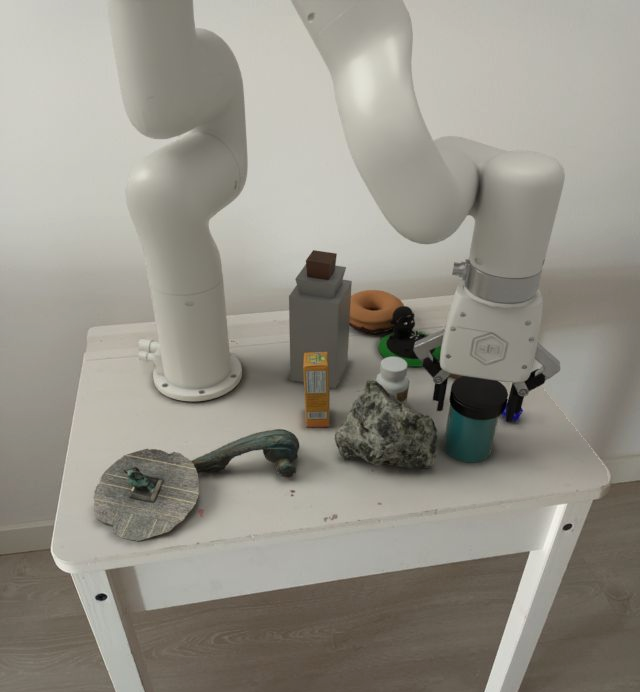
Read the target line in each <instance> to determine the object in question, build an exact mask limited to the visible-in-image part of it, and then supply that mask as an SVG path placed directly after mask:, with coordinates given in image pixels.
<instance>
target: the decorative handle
mask: <svg viewBox="0 0 640 692" xmlns="http://www.w3.org/2000/svg"><path fill="white" fill-rule="evenodd" d="M299 450H300V442H299V439H298V437H297V436H296V434H294V433H293V432H292V431H289V430H286V429H283V428H276V429H271V430H269V429H268V430H265V431H259V432H255V433H252V434H249V435H247V436H243V437H240V438H237V439H236V440H234V441H231V442H228V443H226V444H225V445H222V446H221V447H218V448H216V449H214V450H211V451H210V452H207V453H205V454H203V455H201V456H199V457H196V458H194V459H192V460H190V461H191V462H192V463H193V464H194V467H195V468H196V471H197V474H201V473H203V474H219V473H221V472H222V471H225V469H226V467H227V466H228V465H229V464H230V462H231V461H232V460H233V459H235V457H239V456H240V457H241V456H242V455H244V454H247V453H251V452H253V451H262V453H263V456H264V458H265V459H266V460H267V461H269V462H271V463H272V464H273V465H274V467H275V471H276V472H277V473H279V474H280V475H281V477H282V478H287V479H291V478H293V477H294V476H295V474H296V473H297V468H296V466H294V465H293V462H294V461H296V460H297V459H298V457H299V456H298V452H299Z"/></svg>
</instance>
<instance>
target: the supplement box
mask: <svg viewBox="0 0 640 692" xmlns="http://www.w3.org/2000/svg"><path fill="white" fill-rule="evenodd" d="M303 372H304V383H303V390H304V391H303V392H304V411H305V413H304V415H305V427H306V428H326V427H327V428H329V427H330V424H331V423H330V422H331V421H330V412H331V411H330V387H329V364H328V352H309V353H304V359H303Z"/></svg>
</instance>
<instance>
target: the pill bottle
mask: <svg viewBox="0 0 640 692" xmlns="http://www.w3.org/2000/svg"><path fill="white" fill-rule="evenodd" d="M379 367H380V369H379V373H378V374H377V375H376V377H375V381H377V382H378V383H379V384H380V385H382V386H383V388H384V389H385V390H386V391H387V392H388V393H389V394H391V395H393V396H394V397H395V398H396V399H397V400H399V401H401V402H403V403H405V404H406V405H407V403H408V394H409V387H410V378H409V376H408V375H407V374H408V366H407V362H406V361H405V360H404V359H402V358H399V357H387V358H385V357H384V358H383V359H382V360H381V361H380V366H379Z"/></svg>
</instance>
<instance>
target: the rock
mask: <svg viewBox="0 0 640 692" xmlns="http://www.w3.org/2000/svg"><path fill="white" fill-rule="evenodd" d="M437 433H438V429H437V426H436V423H435V421H434V419H433V418H432V416H430V415H427V414H423V413H421V412H417V411H416V410H414V409H412V408H411V407H409V405H408V404H407V403H406V404H405V403H403V402H401V401H399V400H397V399H396V398H395V397H394V396H393V395H391V394H389V393H388V392H387V391H386V390H385V389H384V388H383V386H382V385H380V384H379V383H378V382H377V381H376V379H372V380H370V379H369V380H368V379H367V380H366V383H365V386H364V392H363V393H361V394H359V396H358V397H357V398H356V399H355V400H354V401H353V402H352V407H351V408H350V410H349V412H348V413H347V415H346V418H345V420H344V422H343V423H342V424H341V426H339V428H338V429H337V430H336V431H335V433H334V439H335V445H336V447H337V450H338V454H339V456H340V457H341V458H342V459H343V460H346V459H348V458H349V457H351V456H352V457H359V458H361V459H363V460H364V461H365V462H367V463H369V464H372V465H374V466H381V465H390V466H391V465H392V466H394V467H395V466H396V467H401V468H408V469H431V468H432V466H433V465H434V464H435V463H436V459H437V455H438V453H437V452H438V445H439V437H438V434H437Z"/></svg>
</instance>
